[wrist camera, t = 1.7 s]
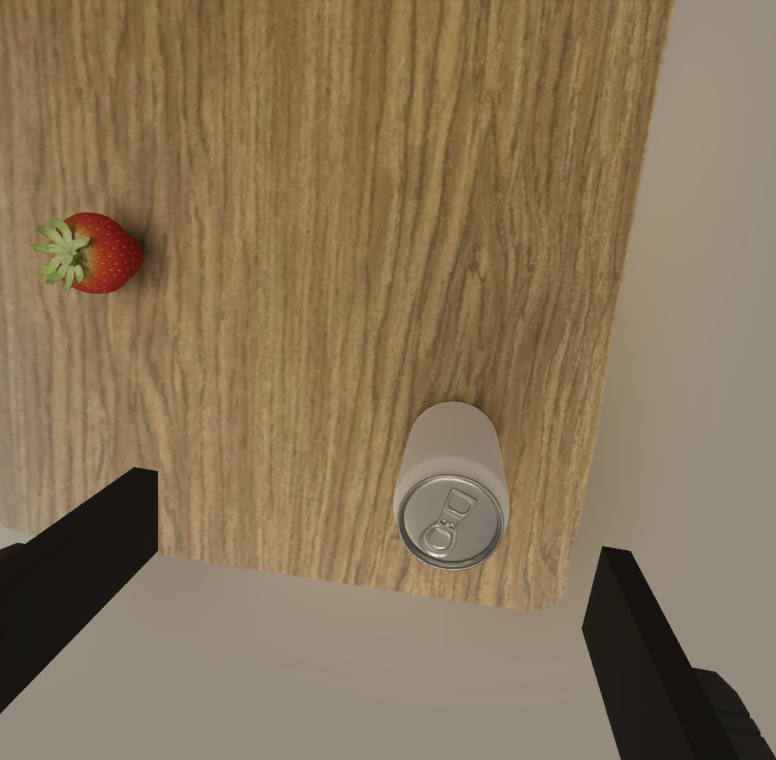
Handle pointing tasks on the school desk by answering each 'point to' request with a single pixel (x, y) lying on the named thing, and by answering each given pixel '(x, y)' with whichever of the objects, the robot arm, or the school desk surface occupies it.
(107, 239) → the fruit
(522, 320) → the school desk surface
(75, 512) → the robot arm
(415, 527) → the can
